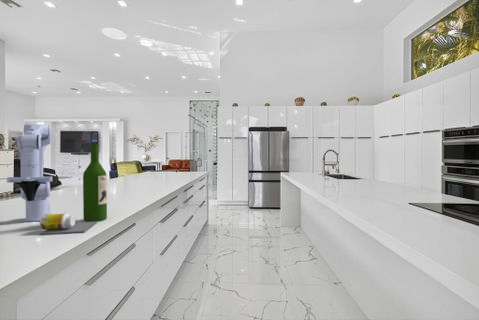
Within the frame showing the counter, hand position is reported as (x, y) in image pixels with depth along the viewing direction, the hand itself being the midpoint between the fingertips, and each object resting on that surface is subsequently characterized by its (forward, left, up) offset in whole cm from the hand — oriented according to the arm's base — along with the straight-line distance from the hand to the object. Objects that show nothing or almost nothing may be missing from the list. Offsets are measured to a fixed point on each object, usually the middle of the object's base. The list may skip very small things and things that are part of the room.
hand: (30, 200), depth 103 cm
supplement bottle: (+6, +7, -7) cm, 12 cm away
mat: (+5, +16, -10) cm, 19 cm away
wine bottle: (-9, +20, -11) cm, 24 cm away
